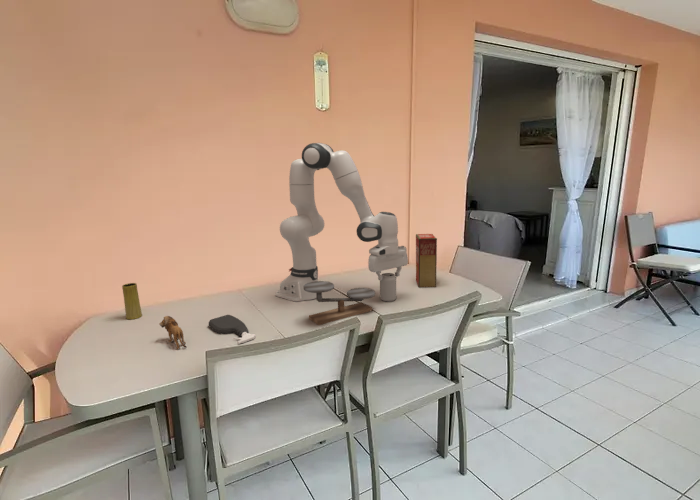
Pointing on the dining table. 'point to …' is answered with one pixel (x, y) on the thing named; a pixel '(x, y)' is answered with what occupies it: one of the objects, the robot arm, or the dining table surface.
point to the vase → (131, 301)
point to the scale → (342, 310)
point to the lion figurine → (173, 330)
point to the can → (388, 287)
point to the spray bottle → (231, 327)
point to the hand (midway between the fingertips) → (389, 278)
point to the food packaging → (426, 260)
